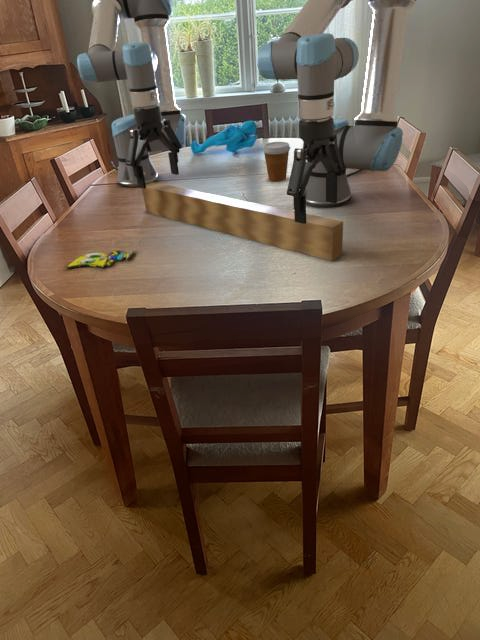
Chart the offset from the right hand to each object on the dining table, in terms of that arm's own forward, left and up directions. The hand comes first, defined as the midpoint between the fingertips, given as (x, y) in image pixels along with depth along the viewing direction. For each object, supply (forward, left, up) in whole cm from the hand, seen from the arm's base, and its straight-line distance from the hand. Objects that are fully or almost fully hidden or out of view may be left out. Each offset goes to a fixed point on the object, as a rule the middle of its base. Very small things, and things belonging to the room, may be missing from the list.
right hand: (316, 212), depth 115 cm
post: (-2, -28, -10) cm, 30 cm away
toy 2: (-74, -81, -10) cm, 111 cm away
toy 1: (+28, -48, -10) cm, 57 cm away
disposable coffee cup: (-48, -39, -10) cm, 63 cm away
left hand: (-6, -56, 0) cm, 56 cm away
